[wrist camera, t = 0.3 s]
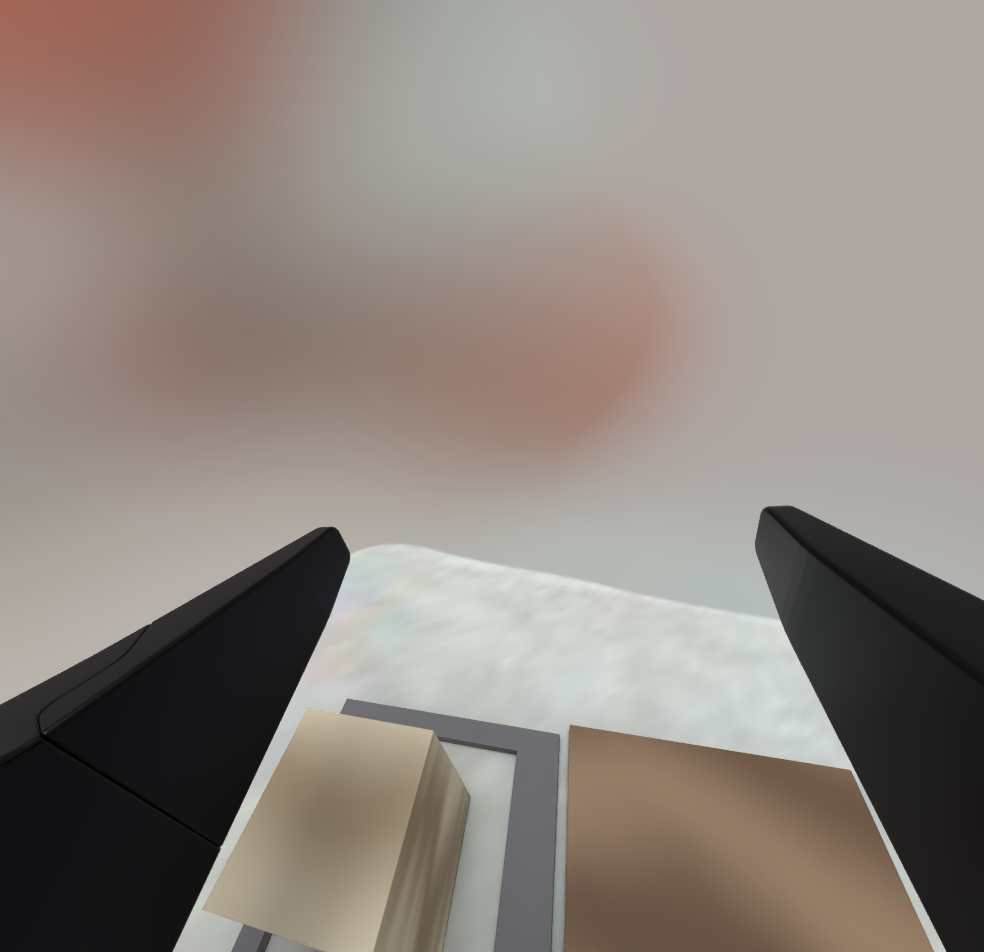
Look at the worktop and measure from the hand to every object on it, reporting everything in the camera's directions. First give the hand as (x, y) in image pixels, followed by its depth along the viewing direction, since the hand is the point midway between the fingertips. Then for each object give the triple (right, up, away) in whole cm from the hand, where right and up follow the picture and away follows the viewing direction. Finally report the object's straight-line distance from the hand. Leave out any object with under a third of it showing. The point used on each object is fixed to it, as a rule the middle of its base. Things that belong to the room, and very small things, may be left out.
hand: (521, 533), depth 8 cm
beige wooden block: (-5, -15, +8) cm, 18 cm away
